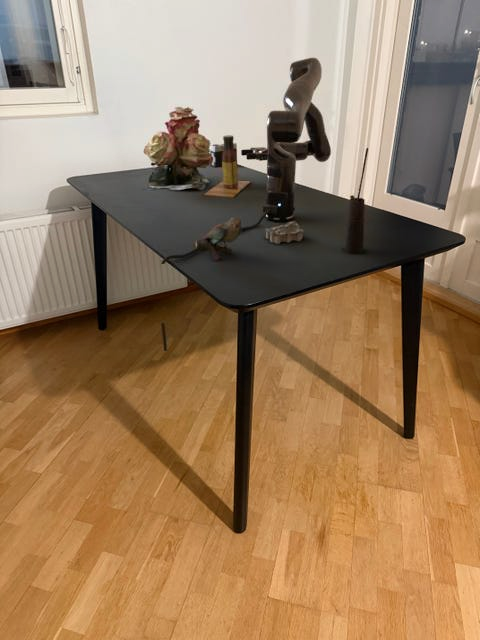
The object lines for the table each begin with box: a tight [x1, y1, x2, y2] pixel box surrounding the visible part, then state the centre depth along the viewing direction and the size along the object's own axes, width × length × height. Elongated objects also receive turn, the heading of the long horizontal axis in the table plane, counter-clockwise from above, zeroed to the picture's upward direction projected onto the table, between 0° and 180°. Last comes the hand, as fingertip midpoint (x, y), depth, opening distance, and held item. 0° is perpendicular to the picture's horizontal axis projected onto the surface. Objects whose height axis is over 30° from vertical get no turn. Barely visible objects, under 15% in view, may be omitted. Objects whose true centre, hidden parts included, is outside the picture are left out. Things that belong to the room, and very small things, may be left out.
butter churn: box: [344, 147, 369, 255], centre depth 125 cm, size 9×10×28 cm
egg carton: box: [264, 220, 305, 245], centre depth 139 cm, size 11×8×4 cm
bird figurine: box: [195, 216, 243, 261], centre depth 126 cm, size 13×10×20 cm
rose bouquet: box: [143, 106, 213, 191], centre depth 191 cm, size 26×29×30 cm
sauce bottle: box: [221, 134, 239, 188], centre depth 186 cm, size 7×6×20 cm
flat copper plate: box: [204, 180, 251, 199], centre depth 190 cm, size 24×12×1 cm, turn 163°
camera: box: [209, 142, 238, 168], centre depth 230 cm, size 14×8×10 cm, turn 131°
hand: (243, 154), depth 186 cm, fingers open, 8 cm apart
